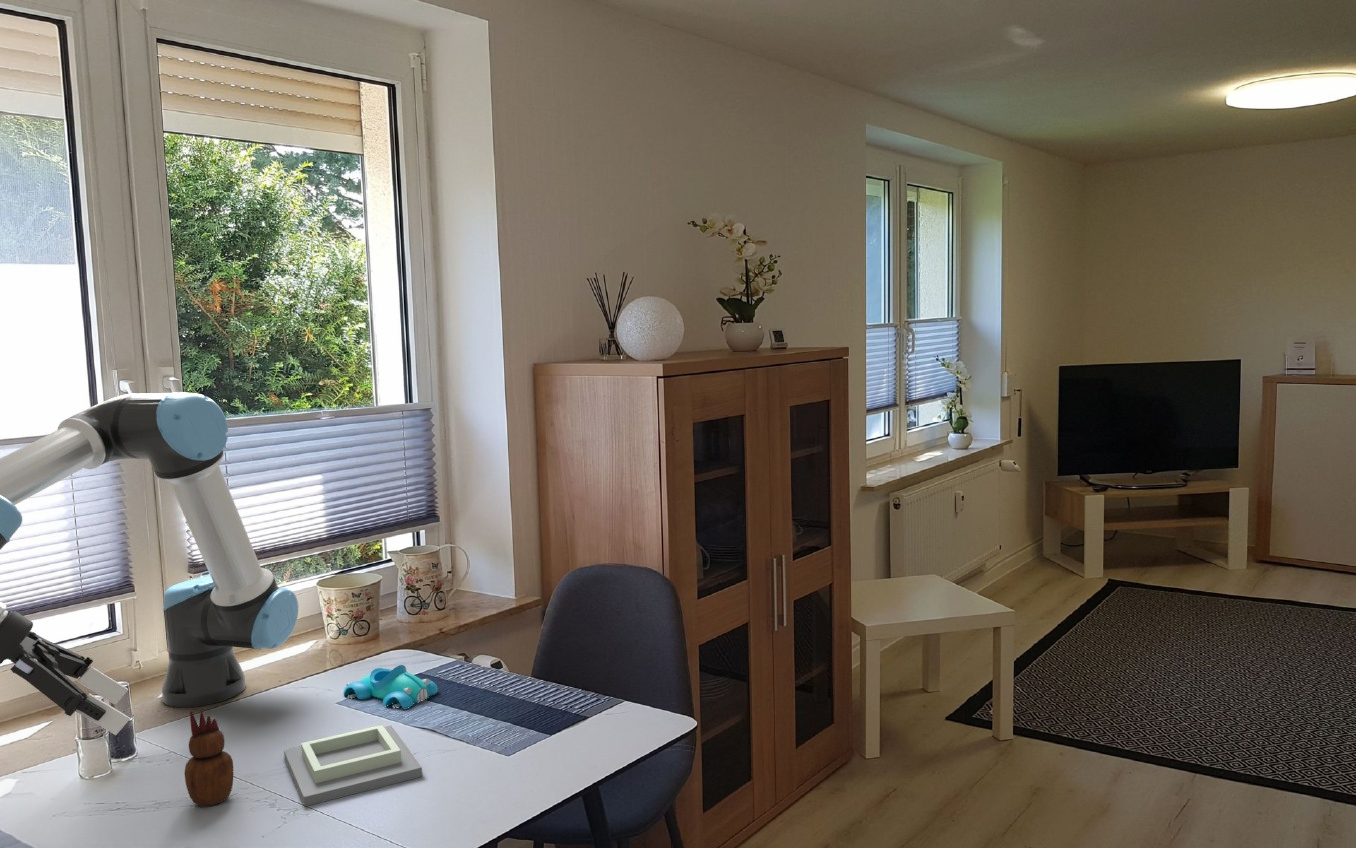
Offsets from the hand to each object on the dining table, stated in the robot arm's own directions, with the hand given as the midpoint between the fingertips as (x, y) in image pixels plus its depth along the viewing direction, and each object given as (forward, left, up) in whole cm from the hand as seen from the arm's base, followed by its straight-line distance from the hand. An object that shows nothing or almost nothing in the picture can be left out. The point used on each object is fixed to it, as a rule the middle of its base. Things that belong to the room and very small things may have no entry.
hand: (122, 711), depth 149 cm
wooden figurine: (0, +11, -17) cm, 20 cm away
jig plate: (0, +32, -17) cm, 36 cm away
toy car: (-30, +45, -18) cm, 57 cm away
